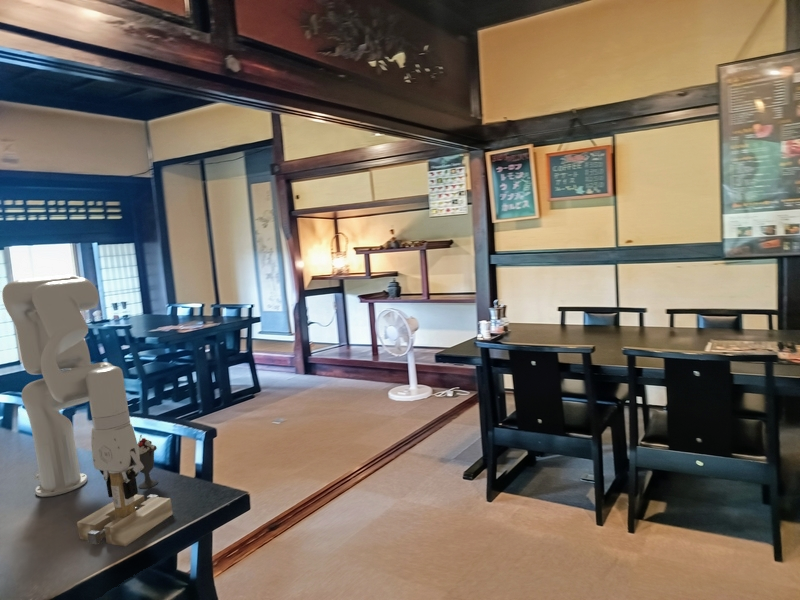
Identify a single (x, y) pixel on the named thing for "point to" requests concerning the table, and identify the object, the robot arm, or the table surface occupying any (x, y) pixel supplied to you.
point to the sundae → (147, 461)
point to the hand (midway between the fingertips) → (123, 494)
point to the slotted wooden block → (126, 520)
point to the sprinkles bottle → (120, 496)
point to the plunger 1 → (95, 536)
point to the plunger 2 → (147, 499)
